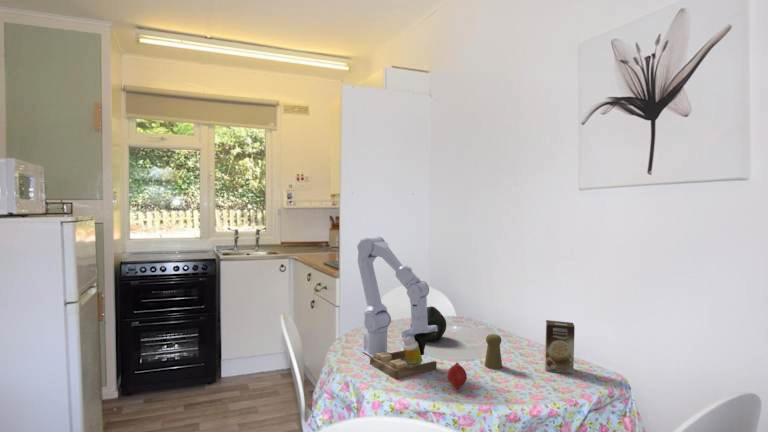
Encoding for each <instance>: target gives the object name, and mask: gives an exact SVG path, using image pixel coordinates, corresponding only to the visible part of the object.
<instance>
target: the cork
mask: <svg viewBox="0 0 768 432" xmlns="http://www.w3.org/2000/svg"><path fill="white" fill-rule="evenodd" d="M485 342H486V344H487V347H486V354H485V360H484V367H485V368H487V369H490V370H501V369H503V361H502V353H501V352H502V351H501V345H502V344H501V343H502V337H501V336H500V335H499V334H494V333H493V334H492V333H491V334H487V335H486V338H485Z"/></svg>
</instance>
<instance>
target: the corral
mask: <svg viewBox="0 0 768 432" xmlns="http://www.w3.org/2000/svg"><path fill="white" fill-rule="evenodd" d="M389 354H391V355H392V361H393V360H397V359H400V360H402V359H406V356H405V352H404V349H403V350H399V351H394V352H390V353H389ZM369 365H371V366H372V367H374V368H376V369H377V370H379V371H381V372H382V373H384V374H386V375H388V376H389V377H391V378H393V379H394V380H396V379H401V378H404V377H408V376H413V375H417V374H418V375H419V374H421V373H426V372H431V371H435V370H437V361H436V360H434V361H429V362H428V361H427V362H425V363H421V364H419V365H415V366H407V367H406V368H401V369H397V370H396V369H394V368H392V367H390V366H389V365H387V364H385V363H383V362H381V361H380V360H378V359H376V356H373V357H371V356H369Z"/></svg>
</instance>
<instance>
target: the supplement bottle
mask: <svg viewBox="0 0 768 432" xmlns="http://www.w3.org/2000/svg"><path fill="white" fill-rule="evenodd" d="M402 338H403V337H402ZM402 341H403V346H402V347H403V350H404V352H405V356H406V358H405V359H406V362H407V366H408V367H410V366H415V365H419V364H423V355H421V353H420V349H419V345H418V342H417V341H415V338H414V336H410V337H407V338H403V339H402Z"/></svg>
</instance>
